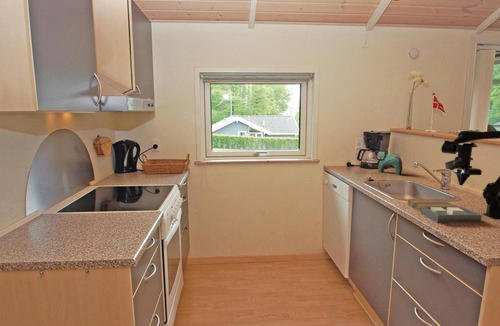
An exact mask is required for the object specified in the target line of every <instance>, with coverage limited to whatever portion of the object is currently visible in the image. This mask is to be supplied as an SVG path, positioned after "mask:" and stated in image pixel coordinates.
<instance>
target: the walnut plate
mask: <svg viewBox="0 0 500 326" xmlns="http://www.w3.org/2000/svg"><path fill="white" fill-rule="evenodd" d="M407 206H409V207H411V208H413V209H414V210H416V211H417V212H420V213H421V209H422V207H426V208H427V209H429V210H430V208H431V207H441V208H443V209H445V210H447V207H454V208H460V206H458V205H455V204H453V203H450V202H449V201H446V200H443V199H407Z"/></svg>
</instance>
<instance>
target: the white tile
mask: <svg viewBox="0 0 500 326" xmlns="http://www.w3.org/2000/svg"><path fill="white" fill-rule="evenodd" d="M447 213H449V214H464V211H463V210H462V209H460V207H459V208H454V207H447Z"/></svg>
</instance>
